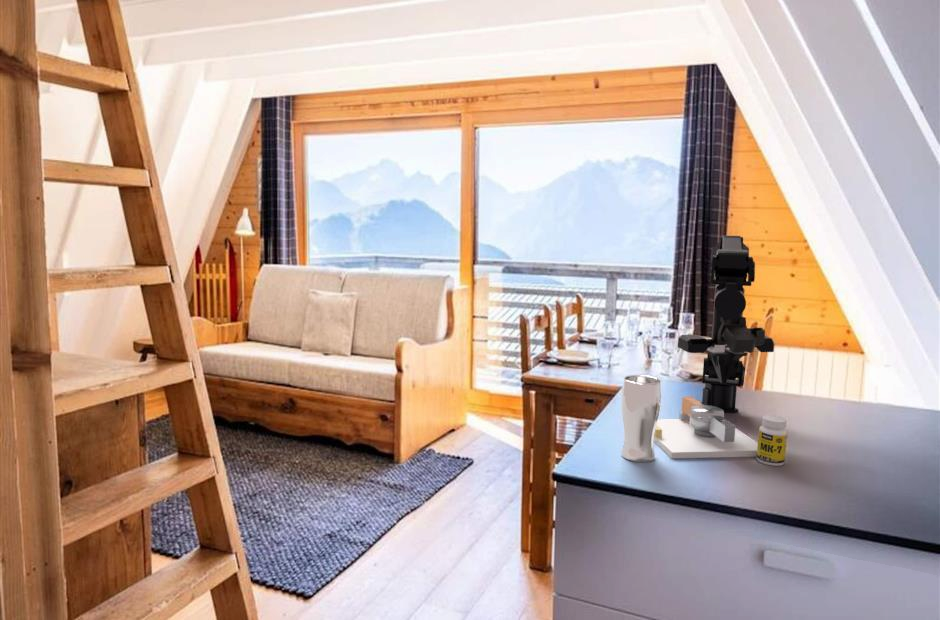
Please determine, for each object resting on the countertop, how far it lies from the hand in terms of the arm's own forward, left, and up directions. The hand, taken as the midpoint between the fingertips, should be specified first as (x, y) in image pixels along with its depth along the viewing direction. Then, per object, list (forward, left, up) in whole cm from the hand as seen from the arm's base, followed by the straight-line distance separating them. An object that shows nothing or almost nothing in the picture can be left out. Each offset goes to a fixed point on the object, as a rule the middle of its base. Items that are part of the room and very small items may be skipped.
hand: (722, 382), depth 136 cm
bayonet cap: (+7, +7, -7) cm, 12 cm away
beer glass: (+24, +15, -10) cm, 30 cm away
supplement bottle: (0, +19, -10) cm, 22 cm away
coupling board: (+8, +7, -10) cm, 15 cm away
